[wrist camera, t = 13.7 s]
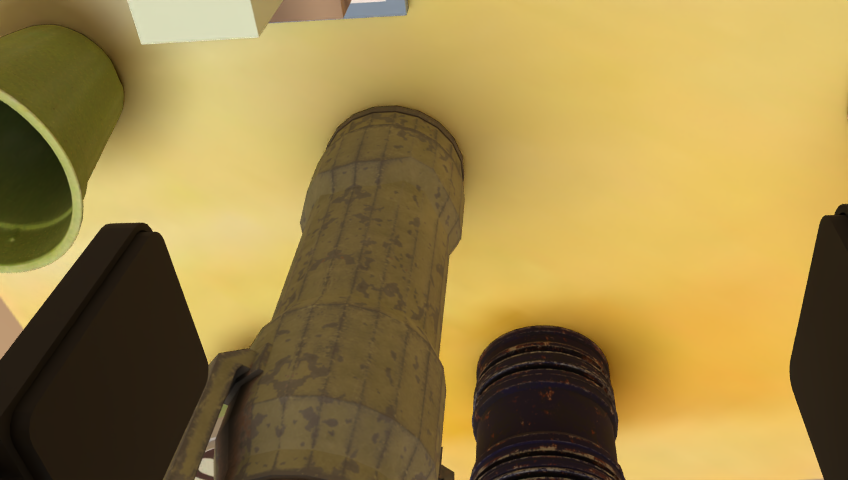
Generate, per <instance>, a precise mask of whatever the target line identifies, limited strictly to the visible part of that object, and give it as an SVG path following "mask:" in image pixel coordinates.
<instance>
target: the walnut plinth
mask: <svg viewBox="0 0 848 480" xmlns="http://www.w3.org/2000/svg"><path fill="white" fill-rule="evenodd" d="M350 3H351V0H283V1H282V3H281V4H280V6H279V7H278V9H277V10H276V12H275V13H274V15H273V16H272V18H271V19H270V21H269V23H273V22H290V21H307V20H324V19H341V18H344V16H345V14H346V11H347V9H348V7H349V5H350Z"/></svg>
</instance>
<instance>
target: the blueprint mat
mask: <svg viewBox="0 0 848 480" xmlns="http://www.w3.org/2000/svg"><path fill="white" fill-rule="evenodd" d="M407 12H408V0H351V3H350V5H349V7H348V9H347V11H346V14H345V16H344V18H341V19H350V18H367V17H384V16H401V15H407ZM324 20H332V19H324ZM307 21H315V20H307ZM290 22H298V21H290ZM273 23H281V22H273Z"/></svg>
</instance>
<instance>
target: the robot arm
mask: <svg viewBox="0 0 848 480" xmlns="http://www.w3.org/2000/svg"><path fill="white" fill-rule="evenodd" d="M847 117H848V116H847ZM208 370H209V369H208V362H207V358H206V355H205V353H204V350H203V347H202V344H201V341H200V339H199V336H198V333H197V330H196V328H195V325H194V322H193V319H192V316H191V314H190V311H189V308H188V305H187V303H186V300H185V297H184V294H183V291H182V289H181V286H180V283H179V280H178V278H177V275H176V272H175V269H174V266H173V264H172V261H171V258H170V255H169V253H168V250H167V247H166V244H165V241H164V239H163V237H162V236H161V235H160V233H158V232H153V231H152V229H151V228H150V227H149V226H148V225H147V224H145V223H114V224H106V225H105V226H103V227H102V228H101V229H100V231H99V232H98V233H97V235H96V236H95V237H94V239H93V240H92V241H91V242H90V244H89V245H88V246H87V248H86V249H85V250H84V252H83V253H82V254H81V255H80V257H79V258H78V259H77V261H76V262H75V263H74V265H73V266H72V267H71V269H70V270H69V271H68V272H67V274H66V275H65V276H64V278H63V279H62V280H61V282H60V283H59V284H58V285H57V287H56V288H55V289H54V291H53V292H52V293H51V295H50V296H49V297H48V299H47V300H46V301H45V302H44V304H43V305H42V306H41V308H40V309H39V310H38V312H37V313H36V314H35V315H34V317H33V318H32V319H31V321H30V322H29V323H28V325H27V326H26V327H25V329H24V330H23V331H22V332H21V334H20V335H19V336H18V338H17V339H16V340H15V342H14V343H13V344H12V345H11V347H10V348H9V350H8V351H7V352H6V353H5V355H4V356H3V357H2V359H1V360H0V480H163V478H164V476H165V474H166V472H167V469H168V467H169V465H170V463H171V461H172V458H173V456H174V454H175V452H176V450H177V448H178V445H179V443H180V441H181V439H182V437H183V434H184V432H185V430H186V428H187V426H188V423H189V421H190V419H191V417H192V415H193V412H194V410H195V408H196V406H197V404H198V401H199V399H200V397H201V395H202V393H203V390H204V388H205V386H206V383H207V380H208ZM790 381H791V386H792V390H793V393H794V395H795V398H796V401H797V404H798V407H799V410H800V412H801V415H802V418H803V421H804V424H805V427H806V429H807V432H808V435H809V438H810V441H811V443H812V446H813V449H814V452H815V455H816V458H817V460H818V463H819V466H820V469H821V472H822V475H823V477H824V480H848V204H842V205H840V206H839V207H838V208H837V210H836V212H835V215H825V216H824V217H823V218H822V219H821V222H820V225H819V229H818V234H817V239H816V243H815V248H814V253H813V257H812V262H811V267H810V271H809V276H808V281H807V285H806V290H805V295H804V299H803V304H802V309H801V313H800V318H799V323H798V327H797V332H796V337H795V341H794V346H793V351H792V355H791V360H790Z"/></svg>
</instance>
